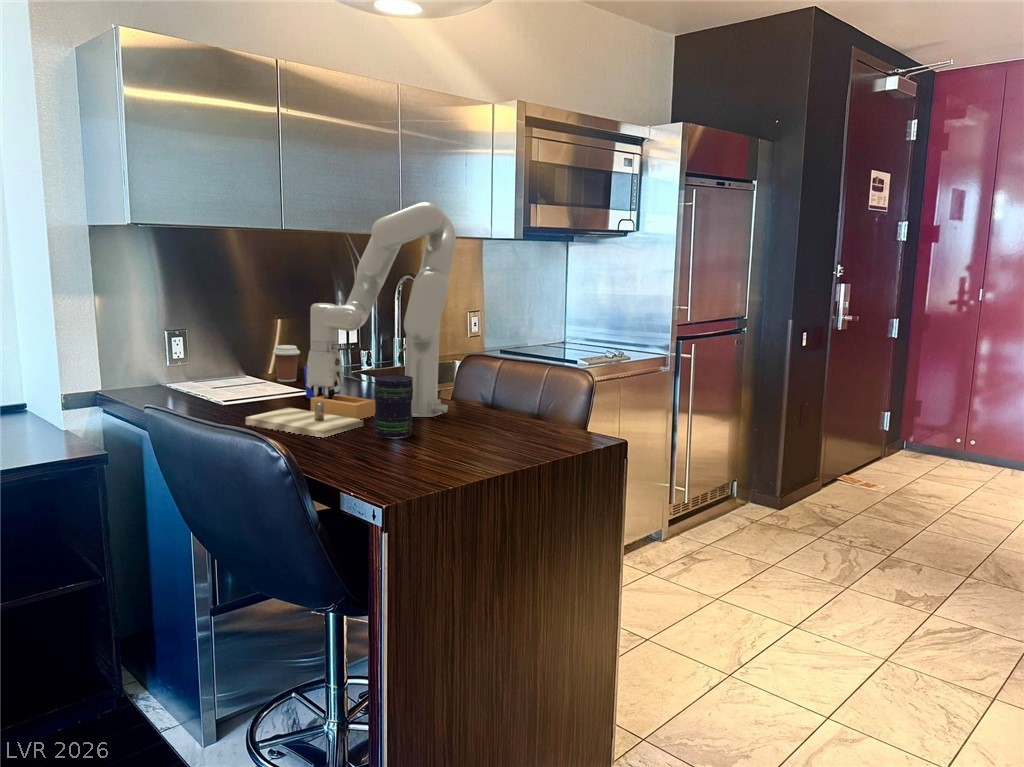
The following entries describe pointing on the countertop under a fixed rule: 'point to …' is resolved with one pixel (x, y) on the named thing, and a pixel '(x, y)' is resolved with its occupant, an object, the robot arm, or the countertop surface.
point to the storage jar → (393, 405)
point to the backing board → (303, 422)
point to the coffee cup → (286, 362)
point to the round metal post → (319, 411)
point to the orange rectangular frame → (346, 406)
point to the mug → (308, 391)
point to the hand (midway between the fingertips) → (324, 409)
